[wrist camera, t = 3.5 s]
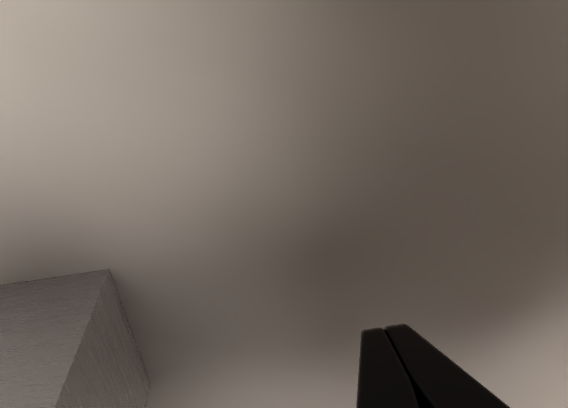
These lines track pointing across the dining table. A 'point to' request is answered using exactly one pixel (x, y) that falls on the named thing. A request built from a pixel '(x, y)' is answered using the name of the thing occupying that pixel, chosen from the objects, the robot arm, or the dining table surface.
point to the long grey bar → (68, 345)
